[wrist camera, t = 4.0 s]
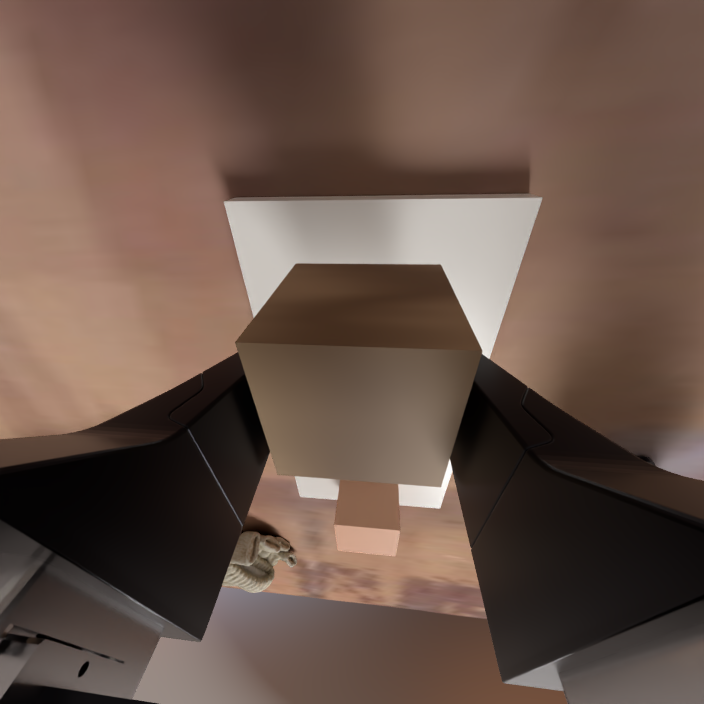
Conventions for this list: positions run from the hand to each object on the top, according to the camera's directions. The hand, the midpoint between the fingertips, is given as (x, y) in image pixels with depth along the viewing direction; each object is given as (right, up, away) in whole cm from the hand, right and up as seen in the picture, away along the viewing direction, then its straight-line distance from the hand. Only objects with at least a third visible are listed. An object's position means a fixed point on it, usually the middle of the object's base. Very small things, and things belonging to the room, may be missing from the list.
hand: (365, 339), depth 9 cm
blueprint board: (+1, -4, +10) cm, 11 cm away
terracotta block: (+1, -12, +15) cm, 19 cm away
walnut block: (0, +1, +1) cm, 1 cm away
